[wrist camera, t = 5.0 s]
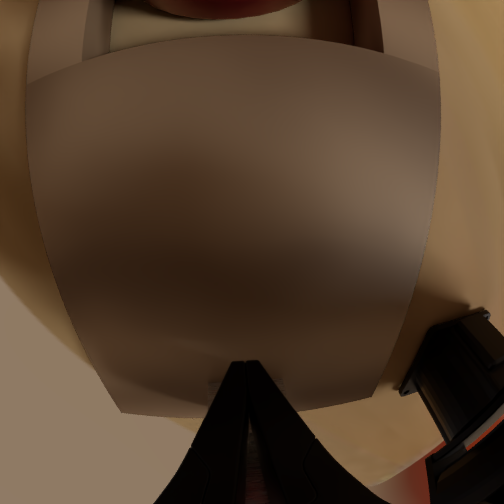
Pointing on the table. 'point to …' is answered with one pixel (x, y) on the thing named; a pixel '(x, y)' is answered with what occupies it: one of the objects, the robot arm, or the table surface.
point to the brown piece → (234, 201)
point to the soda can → (221, 7)
